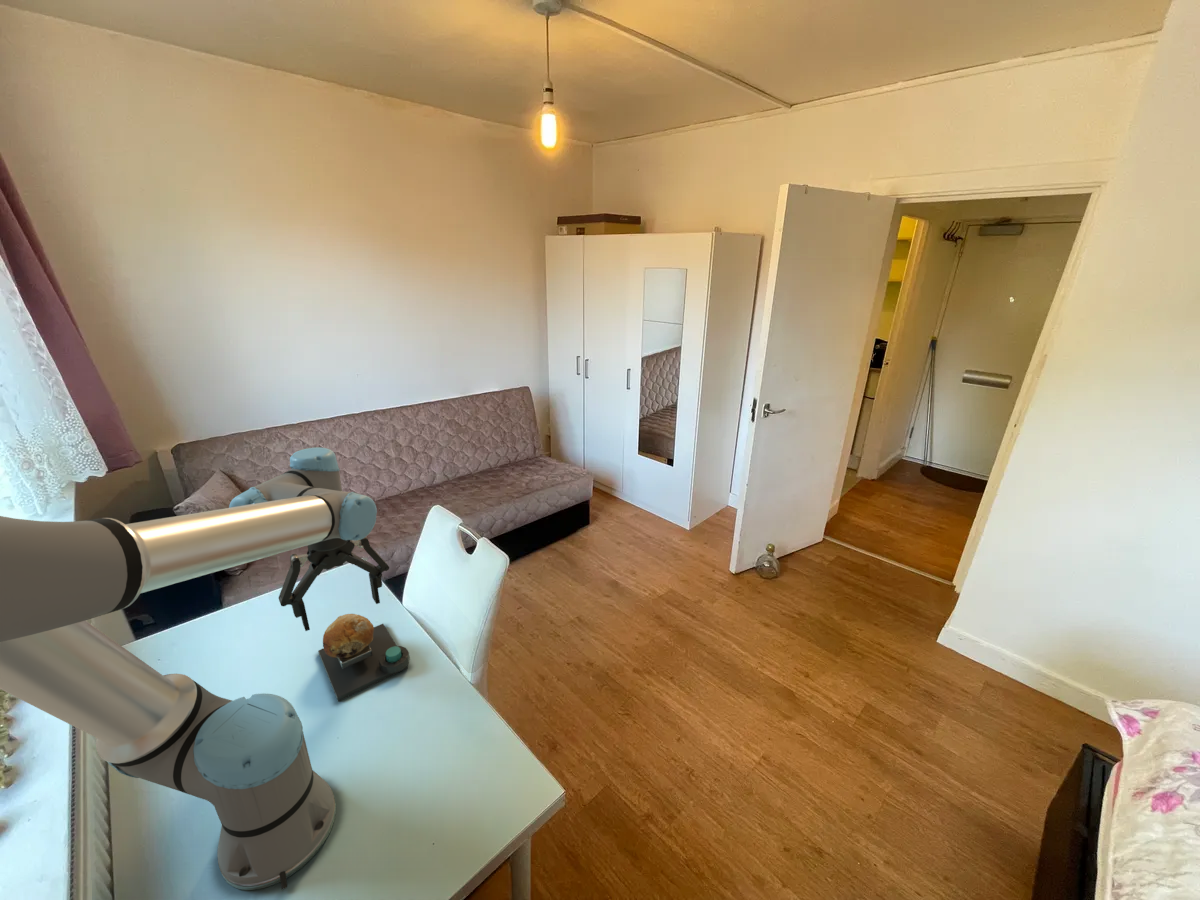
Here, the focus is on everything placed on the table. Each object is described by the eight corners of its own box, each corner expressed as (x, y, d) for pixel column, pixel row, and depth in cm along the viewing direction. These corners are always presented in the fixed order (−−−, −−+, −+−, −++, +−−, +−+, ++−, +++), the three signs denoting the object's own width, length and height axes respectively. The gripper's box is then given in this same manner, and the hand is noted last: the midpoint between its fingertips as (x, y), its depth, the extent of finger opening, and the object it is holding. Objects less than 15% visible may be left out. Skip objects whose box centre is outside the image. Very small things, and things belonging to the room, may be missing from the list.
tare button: (403, 658, 105) (402, 652, 105) (389, 665, 103) (388, 658, 103) (398, 650, 107) (397, 644, 107) (384, 656, 106) (383, 650, 105)
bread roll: (381, 647, 110) (384, 611, 111) (355, 663, 100) (359, 624, 101) (339, 642, 111) (343, 607, 112) (309, 658, 101) (314, 619, 101)
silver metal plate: (372, 655, 105) (371, 650, 105) (342, 669, 102) (341, 663, 101) (358, 629, 112) (357, 624, 112) (330, 641, 109) (329, 636, 108)
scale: (414, 668, 106) (412, 658, 105) (339, 705, 97) (336, 694, 96) (387, 625, 118) (386, 615, 117) (319, 654, 109) (316, 644, 108)
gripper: (385, 500, 106) (396, 582, 113) (246, 537, 90) (270, 628, 98) (397, 514, 100) (408, 598, 108) (252, 554, 85) (276, 650, 93)
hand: (342, 613), depth 103 cm, fingers open, 13 cm apart
